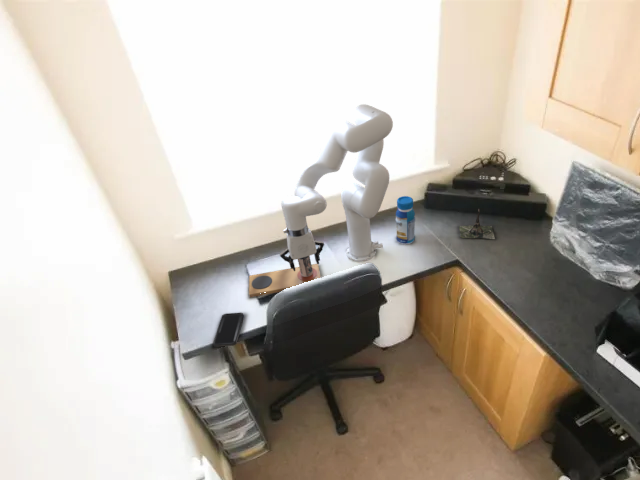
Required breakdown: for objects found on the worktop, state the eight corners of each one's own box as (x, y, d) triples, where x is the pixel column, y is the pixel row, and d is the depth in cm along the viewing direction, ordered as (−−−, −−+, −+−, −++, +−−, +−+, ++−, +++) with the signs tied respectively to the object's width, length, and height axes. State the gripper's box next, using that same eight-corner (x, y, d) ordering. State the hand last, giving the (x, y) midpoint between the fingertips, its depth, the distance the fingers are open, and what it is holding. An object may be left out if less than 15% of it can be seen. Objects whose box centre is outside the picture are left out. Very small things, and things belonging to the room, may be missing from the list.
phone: (243, 312, 151) (235, 343, 140) (244, 314, 152) (236, 345, 141) (222, 313, 151) (211, 344, 140) (223, 316, 152) (213, 347, 141)
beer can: (310, 278, 164) (305, 253, 156) (299, 277, 165) (293, 252, 157) (314, 270, 167) (309, 246, 159) (303, 269, 168) (298, 245, 160)
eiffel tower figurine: (491, 226, 189) (495, 200, 180) (494, 239, 182) (499, 212, 173) (458, 226, 190) (461, 200, 181) (460, 239, 183) (462, 212, 174)
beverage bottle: (416, 243, 181) (417, 203, 168) (397, 246, 181) (396, 205, 167) (413, 233, 188) (413, 193, 174) (394, 235, 187) (393, 195, 174)
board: (318, 266, 172) (317, 262, 171) (321, 284, 164) (321, 280, 162) (250, 278, 168) (249, 275, 167) (250, 297, 159) (248, 294, 158)
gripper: (276, 240, 147) (286, 277, 158) (323, 228, 152) (329, 264, 163) (272, 230, 152) (282, 266, 164) (317, 218, 157) (323, 254, 168)
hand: (305, 265), depth 163 cm, fingers open, 9 cm apart
